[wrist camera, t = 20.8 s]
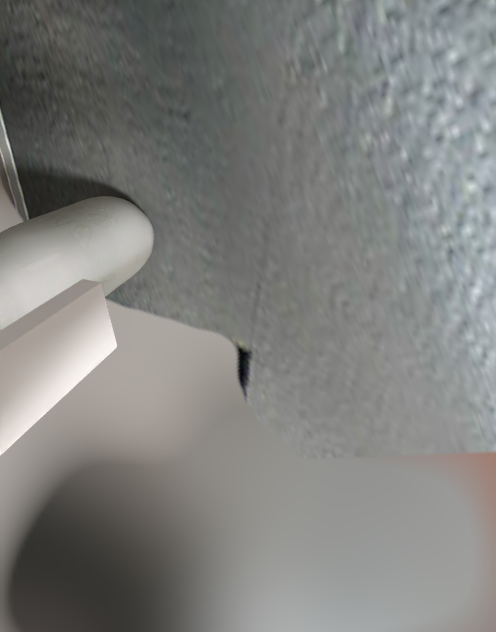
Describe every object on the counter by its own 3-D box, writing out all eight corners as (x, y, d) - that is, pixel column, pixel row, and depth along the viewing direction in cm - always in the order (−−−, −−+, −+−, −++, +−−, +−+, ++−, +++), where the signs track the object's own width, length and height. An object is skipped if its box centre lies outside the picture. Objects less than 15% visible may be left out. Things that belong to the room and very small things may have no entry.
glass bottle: (110, 253, 53) (-102, 380, 31) (96, 180, 47) (-175, 274, 25) (170, 267, 50) (-15, 416, 29) (164, 192, 45) (-74, 307, 23)
